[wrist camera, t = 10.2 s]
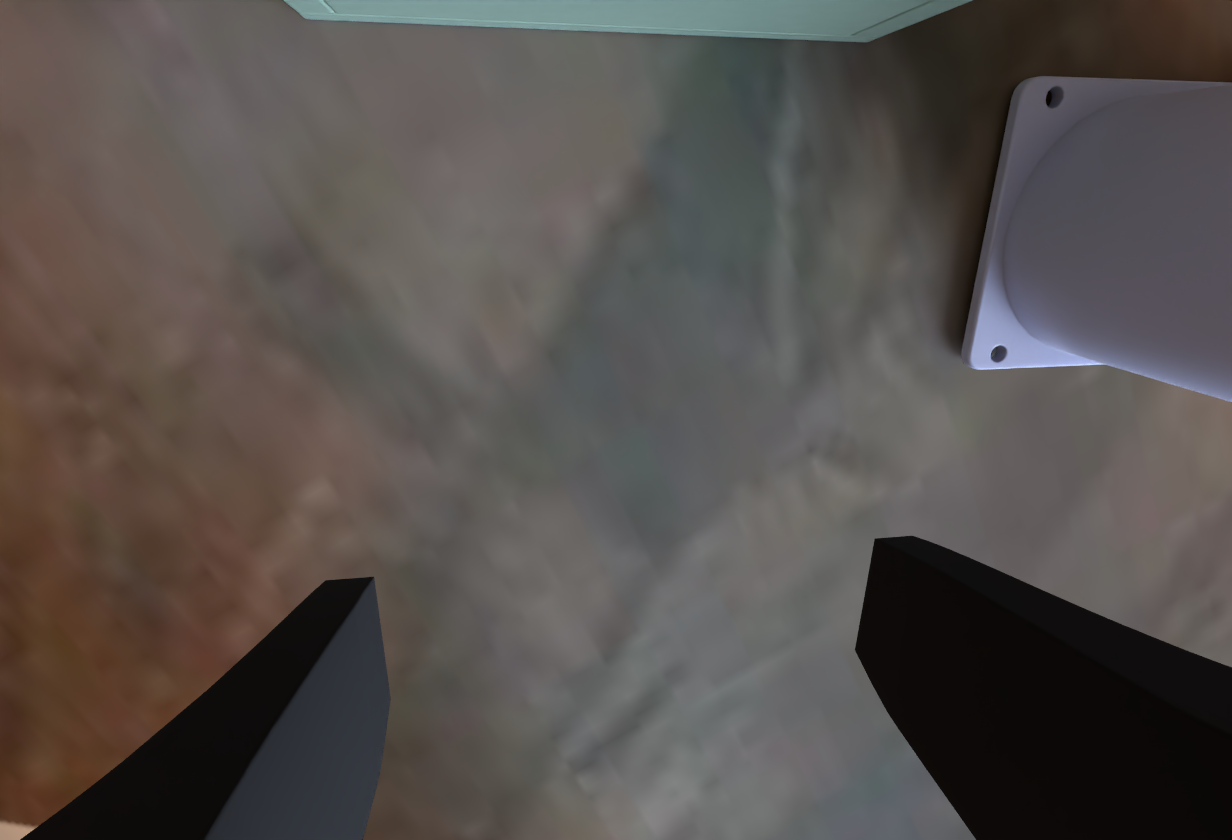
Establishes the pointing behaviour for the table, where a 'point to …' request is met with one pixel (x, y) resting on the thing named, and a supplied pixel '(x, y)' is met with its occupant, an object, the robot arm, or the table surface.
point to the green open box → (650, 15)
